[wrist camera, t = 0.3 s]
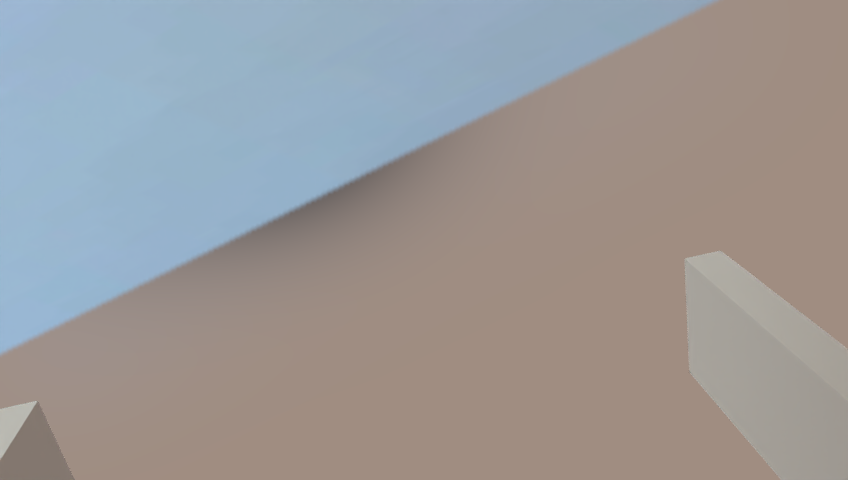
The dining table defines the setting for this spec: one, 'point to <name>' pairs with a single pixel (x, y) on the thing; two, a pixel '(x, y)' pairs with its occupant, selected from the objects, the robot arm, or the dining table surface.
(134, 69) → the dining table surface
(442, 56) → the dining table surface
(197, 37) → the dining table surface
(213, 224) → the dining table surface
